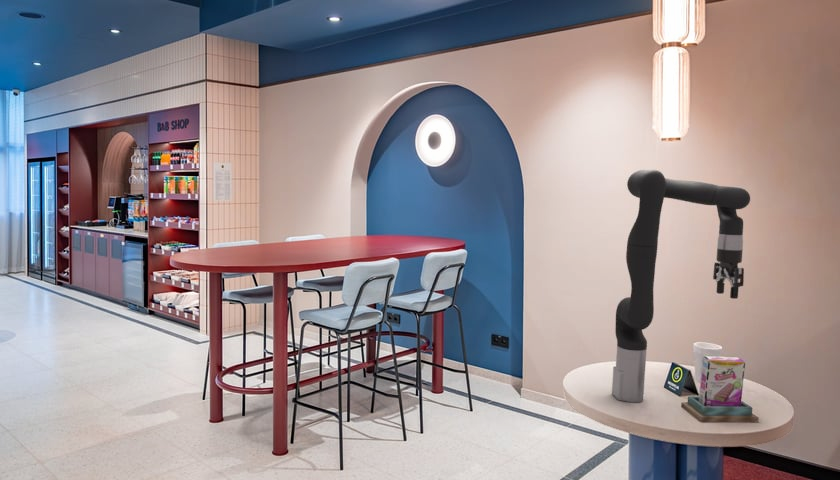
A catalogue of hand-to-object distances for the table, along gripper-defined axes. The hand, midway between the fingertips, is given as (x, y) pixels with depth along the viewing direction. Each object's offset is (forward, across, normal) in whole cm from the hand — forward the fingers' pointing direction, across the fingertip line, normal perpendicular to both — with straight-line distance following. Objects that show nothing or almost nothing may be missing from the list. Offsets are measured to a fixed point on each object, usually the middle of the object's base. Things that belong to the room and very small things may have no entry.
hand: (726, 295), depth 201 cm
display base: (+34, -18, +10) cm, 40 cm away
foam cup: (+35, +15, -2) cm, 38 cm away
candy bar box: (+33, -17, +10) cm, 38 cm away
